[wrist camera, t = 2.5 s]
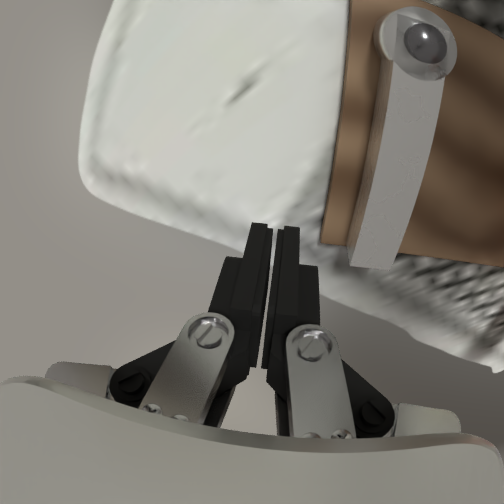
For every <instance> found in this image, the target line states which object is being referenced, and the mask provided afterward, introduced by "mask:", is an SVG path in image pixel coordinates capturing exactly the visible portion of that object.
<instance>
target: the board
mask: <svg viewBox="0 0 504 504" xmlns="http://www.w3.org/2000/svg"><path fill="white" fill-rule="evenodd" d="M410 6H415V7H421V8H425V9H427V10H430V11H431V12H433V13H435V14H436V15H438V16H439V17H440V18H441V19H442V20H443V21H444V22H445V23H446V24H447V25H448V27H449V28H450V30H451V31H452V33H453V36H454V38H455V41H456V45H457V59H456V63H455V65H454V67H453V69H452V70H451V72H450V73H449V74H448V75H447V76H445V80H444V87H443V93H442V99H441V104H440V109H439V114H438V119H437V124H436V129H435V133H434V138H433V142H432V146H431V150H430V154H429V158H428V161H427V165H426V169H425V172H424V176H423V179H422V183H421V186H420V189H419V193H418V196H417V199H416V202H415V205H414V208H413V211H412V214H411V217H410V220H409V223H408V226H407V228H406V231H405V234H404V237H403V239H402V242H401V245H400V247H399V250H398V253H405V254H413V255H420V256H428V257H435V258H442V259H449V260H457V261H464V262H471V263H478V264H484V265H491V266H498V267H504V39H502V38H500V37H499V36H497V35H495V34H493V33H492V32H490V31H488V30H486V29H484V28H482V27H481V26H479V25H477V24H475V23H473V22H471V21H469V20H467V19H465V18H462V17H460V16H458V15H456V14H454V13H451V12H449V11H447V10H444V9H442V8H439V7H437V6H434V5H432V4H429V3H427V2H424V1H421V0H350V7H349V25H348V40H347V52H346V64H345V74H344V84H343V93H342V102H341V110H340V118H339V125H338V133H337V140H336V147H335V154H334V160H333V166H332V173H331V179H330V185H329V191H328V196H327V202H326V208H325V213H324V218H323V224H322V229H321V234H320V239H321V243H325V244H334V245H342V246H346V242H347V238H348V234H349V230H350V226H351V222H352V218H353V214H354V210H355V206H356V202H357V197H358V193H359V188H360V184H361V179H362V175H363V170H364V165H365V160H366V155H367V150H368V144H369V139H370V133H371V127H372V121H373V115H374V109H375V102H376V95H377V87H378V80H379V71H380V62H381V58H380V57H379V55H378V53H377V52H376V49H375V46H374V41H373V32H374V28H375V25H376V23H377V22H378V20H379V19H380V18H381V17H382V16H384V15H386V14H388V13H390V12H393V11H395V10H398V9H401V8H404V7H410Z"/></svg>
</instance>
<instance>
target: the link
mask: <svg viewBox="0 0 504 504" xmlns="http://www.w3.org/2000/svg"><path fill="white" fill-rule="evenodd" d="M373 41H374V46H375V49H376V52H377V53H378V55H379V57H380V58H381V62H380V71H379V80H378V87H377V95H376V102H375V109H374V115H373V121H372V127H371V133H370V139H369V144H368V150H367V155H366V160H365V165H364V170H363V175H362V179H361V184H360V188H359V193H358V197H357V202H356V206H355V210H354V214H353V218H352V222H351V226H350V230H349V234H348V238H347V242H346V246H347V252H348V258H349V264H350V266H355V267H364V268H373V269H381V270H391V267H392V265H393V262H394V260H395V257H396V255H397V252H398V250H399V247H400V245H401V242H402V239H403V237H404V234H405V231H406V228H407V226H408V223H409V220H410V217H411V214H412V211H413V208H414V205H415V202H416V199H417V196H418V193H419V189H420V186H421V183H422V179H423V176H424V172H425V169H426V165H427V161H428V158H429V154H430V150H431V146H432V142H433V138H434V133H435V129H436V124H437V119H438V114H439V109H440V104H441V99H442V93H443V87H444V80H445V76H447V75H448V74H449V73H450V72H451V70H452V69H453V67H454V65H455V63H456V59H457V45H456V41H455V38H454V36H453V33H452V31H451V30H450V28H449V27H448V25H447V24H446V23H445V22H444V21H443V20H442V19H441V18H440V17H439V16H438V15H436V14H435V13H433V12H431V11H430V10H427V9H425V8H421V7H415V6H410V7H404V8H401V9H398V10H395V11H393V12H390V13H388V14H386V15H384V16H382V17H381V18H380V19H379V20H378V22H377V23H376V25H375V28H374V32H373Z"/></svg>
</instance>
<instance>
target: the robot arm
mask: <svg viewBox="0 0 504 504" xmlns="http://www.w3.org/2000/svg"><path fill="white" fill-rule="evenodd" d="M267 226H268V225H267V224H263V223H253V222H252V224H251V228H250V232H249V236H248V240H247V244H246V247H245V251H244V255H243V258H237V257H226V258H225V260H224V263H223V267H222V270H221V273H220V276H219V279H218V282H217V285H216V288H215V291H214V294H213V298H212V301H211V304H210V307H209V310H208V312H207V313H201V314H198V315H195V316H193V317H192V318H191V319H189V320H188V321H187V323H186V324H185V325H184V327H183V329H182V330H181V332H180V334H179V336H178V337H177V339H176V340H175V341H173V342H171V343H169V344H167V345H165V346H163V347H161V348H159V349H157V350H154V351H152V352H150V353H148V354H146V355H144V356H142V357H140V358H138V359H136V360H133V361H131V362H129V363H127V364H125V365H123V366H121V367H120V368H118V369H113V368H112V367H111V366H107V365H93V364H82V363H72V362H57V363H55V364H53V365H52V366H51V367H50V368H49V369H48V371H47V373H46V375H45V378H43V377H36V376H19V377H13V378H9V379H7V380H5V381H3V382H2V383H1V384H0V504H504V467H503V463H502V459H501V456H500V454H499V452H498V450H497V449H496V447H495V446H494V445H493V444H491V443H490V442H488V441H486V440H485V439H482V438H480V437H477V436H474V435H469V434H464V433H461V427H460V421H459V419H458V417H457V416H456V415H455V414H454V413H453V412H450V411H447V410H442V409H435V408H428V407H422V406H415V405H410V404H405V403H399V404H398V405H395V404H391V403H390V402H389V401H388V400H387V399H386V398H385V397H384V396H383V395H382V394H381V393H380V392H378V391H377V390H376V389H375V388H374V387H373V386H371V385H370V384H369V383H368V382H367V381H366V380H364V378H362V377H361V376H360V375H359V374H358V373H357V372H356V371H354V370H353V369H352V368H351V367H350V366H349V365H348V364H346V363H345V362H344V361H343V360H342V359H341V356H340V352H339V347H338V343H337V341H336V338H335V337H334V336H333V334H332V333H331V332H330V331H329V330H327V329H325V328H324V327H321V326H320V304H319V277H318V267H317V266H310V265H301V264H299V245H300V227H291V226H284V230H281V229H278V233H277V241H276V249H275V257H274V265H273V273H272V281H271V289H270V296H269V304H268V312H267V320H266V330H265V339H264V348H263V357H262V366H261V368H263V369H267V377H266V378H267V380H266V382H267V383H268V384H269V385H270V386H271V387H272V388H273V389H274V390H275V405H276V425H277V436H273V435H264V434H255V433H247V432H240V431H233V430H227V429H221V428H220V427H221V425H222V422H223V419H224V417H225V414H226V412H227V409H228V406H229V404H230V401H231V399H232V396H233V394H234V391H235V387H236V385H237V384H239V383H240V382H242V381H244V380H245V379H246V378H247V375H249V370H250V367H255V368H256V365H257V359H258V352H259V346H260V339H261V332H262V325H263V319H264V312H265V305H266V298H267V290H268V281H269V270H270V259H271V248H272V236H273V229H272V228H267Z"/></svg>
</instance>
